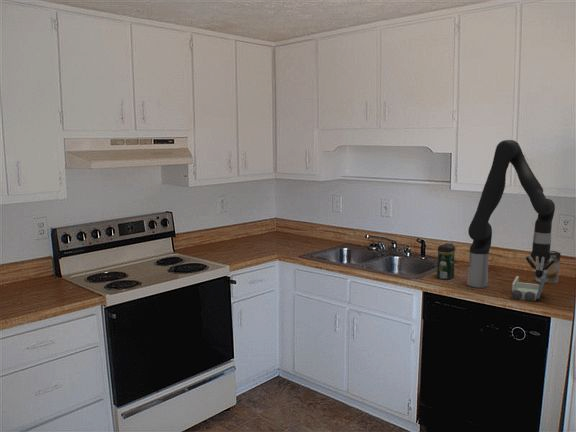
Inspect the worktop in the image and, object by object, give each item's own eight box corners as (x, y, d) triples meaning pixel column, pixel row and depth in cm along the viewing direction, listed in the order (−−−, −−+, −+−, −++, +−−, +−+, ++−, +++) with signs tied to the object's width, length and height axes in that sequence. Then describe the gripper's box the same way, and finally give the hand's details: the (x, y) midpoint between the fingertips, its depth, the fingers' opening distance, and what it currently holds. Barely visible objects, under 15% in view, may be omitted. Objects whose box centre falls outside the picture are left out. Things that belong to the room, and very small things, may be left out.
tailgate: (535, 299, 239) (541, 277, 237) (539, 290, 252) (544, 270, 250) (538, 300, 239) (544, 278, 236) (541, 291, 252) (547, 271, 249)
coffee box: (541, 283, 268) (543, 253, 266) (534, 280, 275) (537, 250, 272) (558, 283, 268) (560, 253, 266) (552, 279, 275) (554, 250, 272)
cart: (511, 298, 243) (511, 284, 242) (515, 289, 258) (516, 275, 257) (534, 302, 238) (535, 287, 237) (538, 292, 253) (539, 278, 252)
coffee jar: (442, 274, 286) (443, 241, 284) (455, 277, 281) (457, 243, 279) (434, 278, 279) (435, 244, 276) (448, 280, 274) (449, 246, 271)
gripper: (525, 241, 242) (522, 277, 245) (557, 244, 235) (553, 281, 238) (527, 238, 248) (524, 273, 251) (558, 241, 242) (554, 277, 244)
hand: (538, 277), depth 244 cm, fingers closed
